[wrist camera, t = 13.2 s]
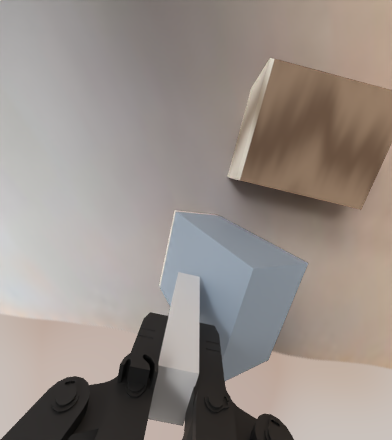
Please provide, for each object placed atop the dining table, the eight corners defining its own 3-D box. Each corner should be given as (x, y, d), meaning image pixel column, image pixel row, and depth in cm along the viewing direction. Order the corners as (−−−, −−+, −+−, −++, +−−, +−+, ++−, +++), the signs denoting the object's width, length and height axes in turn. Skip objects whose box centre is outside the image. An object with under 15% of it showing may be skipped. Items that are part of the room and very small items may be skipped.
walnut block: (270, 57, 13) (413, 95, 13) (250, 88, 18) (355, 116, 18) (235, 179, 15) (360, 209, 15) (227, 177, 20) (321, 200, 20)
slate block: (174, 210, 18) (253, 268, 10) (217, 214, 20) (308, 263, 12) (158, 285, 20) (213, 386, 12) (200, 280, 22) (268, 360, 14)
